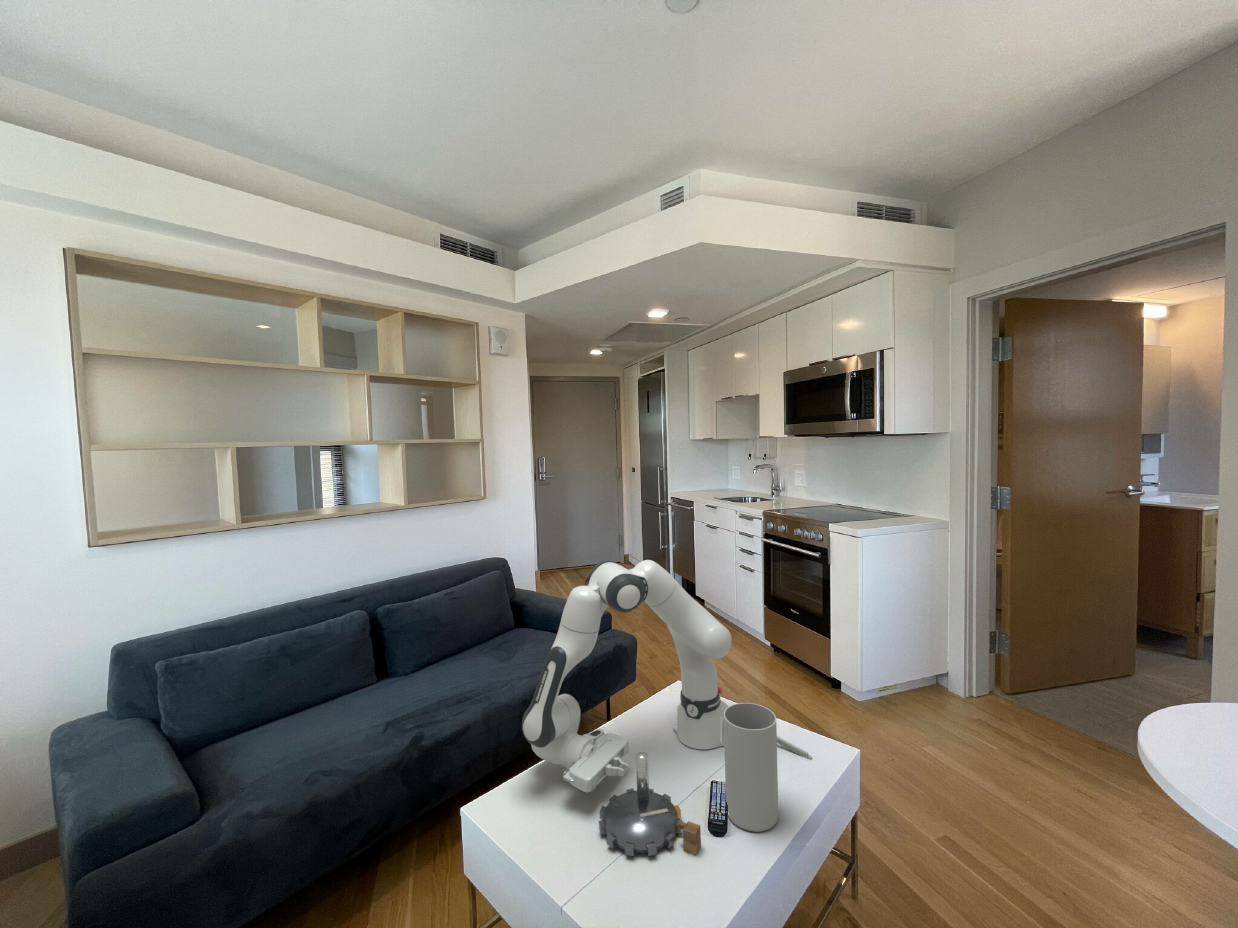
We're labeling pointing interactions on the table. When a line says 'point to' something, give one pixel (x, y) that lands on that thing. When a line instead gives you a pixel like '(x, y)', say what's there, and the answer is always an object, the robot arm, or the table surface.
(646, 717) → the table surface
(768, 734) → the cylinder vase
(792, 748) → the caliper
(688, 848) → the brown wooden block
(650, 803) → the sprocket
